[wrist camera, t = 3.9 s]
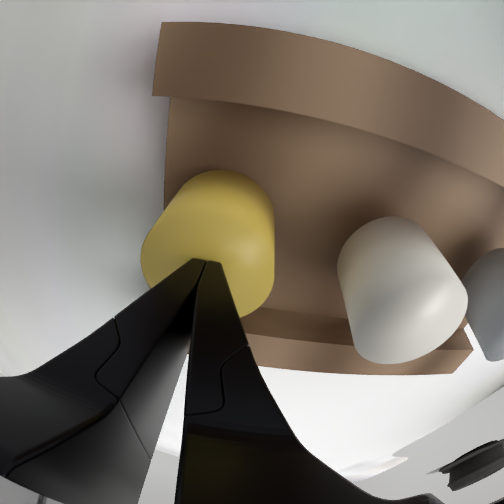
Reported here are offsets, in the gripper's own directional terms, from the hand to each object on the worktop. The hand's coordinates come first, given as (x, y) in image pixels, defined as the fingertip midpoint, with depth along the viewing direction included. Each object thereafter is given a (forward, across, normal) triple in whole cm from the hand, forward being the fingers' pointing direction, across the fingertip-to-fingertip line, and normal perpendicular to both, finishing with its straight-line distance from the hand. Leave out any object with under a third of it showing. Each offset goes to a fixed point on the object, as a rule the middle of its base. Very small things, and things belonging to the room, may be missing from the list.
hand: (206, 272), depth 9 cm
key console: (+5, -6, 0) cm, 8 cm away
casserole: (+5, -62, +48) cm, 79 cm away
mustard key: (+3, 0, 0) cm, 3 cm away
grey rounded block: (+2, -13, 0) cm, 13 cm away
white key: (+2, -6, 0) cm, 7 cm away
